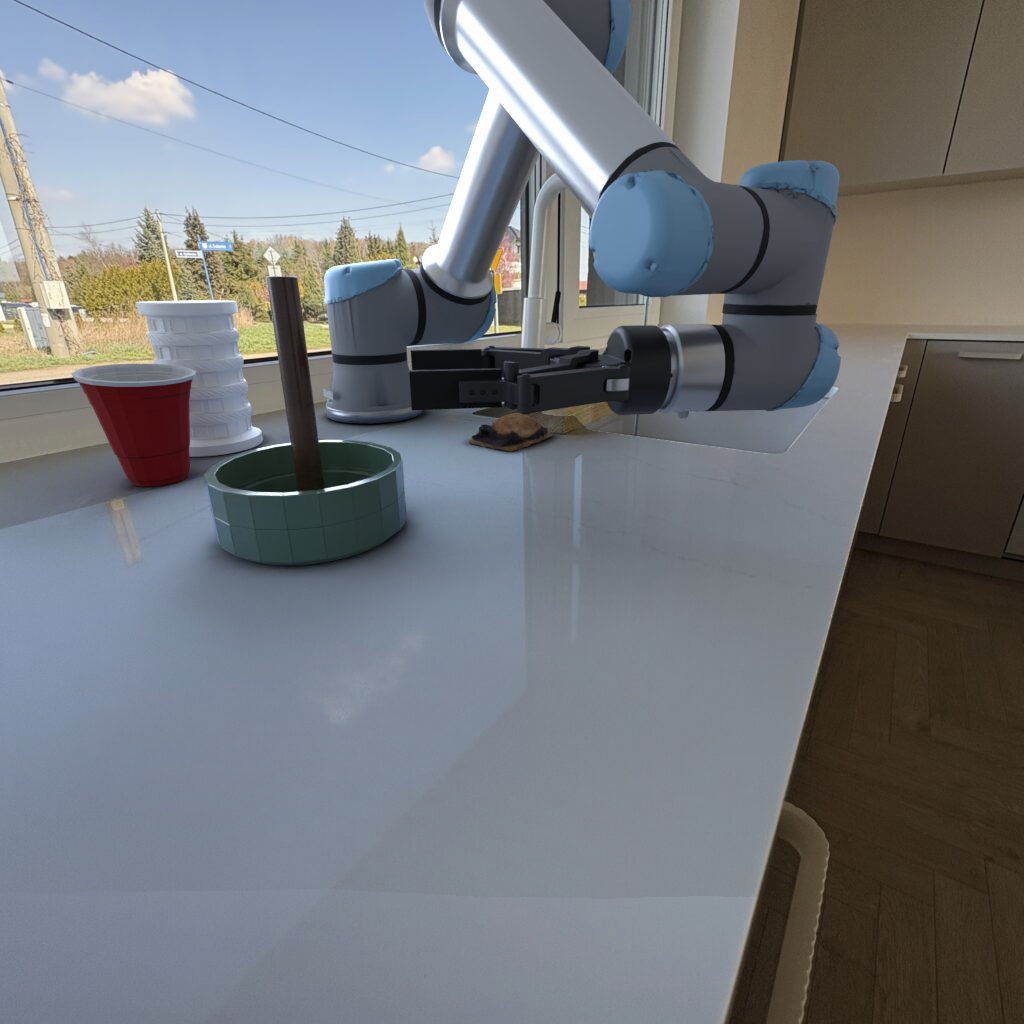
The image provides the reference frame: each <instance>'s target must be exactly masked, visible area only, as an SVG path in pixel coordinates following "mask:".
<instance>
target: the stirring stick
mask: <svg viewBox="0 0 1024 1024" xmlns="http://www.w3.org/2000/svg"><path fill="white" fill-rule="evenodd" d="M265 278H266V280H265V281H266V286H267V293H268V301H269V307H270V313H271V320H272V326H273V327H272V328H273V335H274V340H275V347H276V354H277V359H278V360H277V361H278V367H279V373H280V381H281V387H282V393H283V400H284V407H285V413H286V421H287V427H288V434H289V439H290V440H289V442H290V443H291V448H292V454H293V461H294V468H295V474H296V481H297V488H298V492H299V491H311V490H320V489H325V485H324V478H323V470H322V462H321V455H320V447H319V440H320V439H319V433H318V424H317V417H316V409H315V402H314V393H313V386H312V380H311V379H312V378H311V370H310V364H309V356H308V347H307V339H306V332H305V325H304V324H305V323H304V317H303V309H302V301H301V295H300V294H301V293H300V287H299V286H300V285H299V280H298V277H297V276H292V275H291V276H288V275H286V276H285V275H283V276H280V275H279V276H278V275H277V276H275V275H273V276H270V275H269V276H268V275H267V276H266V277H265Z"/></svg>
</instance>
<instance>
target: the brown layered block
mask: <svg viewBox="0 0 1024 1024" xmlns="http://www.w3.org/2000/svg"><path fill="white" fill-rule="evenodd" d="M551 437H554V431H553V430H551V429H549V428H548V427H545V426H543V425H542V424H541V423H540V421H538V420H537V419H536V418H535V417H532V416H531V415H530V414H527V415H525V414H521V413H518V412H512V413H509V414H504V415H502V416H500V417H497V419H495V420H494V421H492V422H491V425H490V424H486V423H483V424H481V425H480V426H479V427H478V432H477V433H476V434H474V435H472V436H471V438H470V439H468V442H469V444H471V445H477V446H480V447H484V448H486V447H488V448H490V449H492V450H496V449H497V450H501V451H506V452H510V453H511V452H513V451H517V450H518V451H519V450H521V449H524V448H525V447H527V448H528V447H529V446H531V444H537V443H540V442H542V441H543V440H547V439H548V438H551Z"/></svg>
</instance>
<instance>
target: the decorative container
mask: <svg viewBox="0 0 1024 1024" xmlns="http://www.w3.org/2000/svg"><path fill="white" fill-rule="evenodd" d="M135 303H136V308H137V314H138V315H140V316H143V317H145V319H146V324H147V327H148V331H147V336H146V338H147V341H148V342H149V345H151V346H152V349H153V354H154V358H153V364H164V365H176V366H181V367H186V368H190V369H192V370H194V371H196V375H195V377H194V379H193V380H192V383H191V390H190V399H189V412H190V446H189V455H190V457H192V458H193V457H194V458H195V457H196V458H198V457H200V458H201V457H213V456H223V455H230V454H234V453H239V452H244V451H248V450H251V449H254V448H255V447H257V446H259V445H260V444H263V441H264V438H263V431H262V430H261V429H260V428H259V427H256V426H253V421H252V418H251V417H252V415H253V407H252V406H251V403H250V402H249V399H248V394H247V392H248V391H249V385H248V384H249V383H248V381H247V380H246V379H245V376H244V371H243V367H244V361H245V360H244V357H243V355H242V354H241V353H240V349H239V343H238V342H240V332H239V330H238V329H237V328H236V326H235V325H236V324H235V320H234V315H235V314H237V313H238V312H239V307H238V302H237V301H236V300H225V299H224V300H223V299H221V300H219V299H218V300H217V299H216V300H215V299H214V300H211V299H210V300H208V299H207V300H206V299H205V300H203V299H201V300H197V299H196V300H195V299H194V300H193V299H192V300H152V301H151V300H149V301H136V302H135Z"/></svg>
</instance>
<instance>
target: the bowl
mask: <svg viewBox="0 0 1024 1024" xmlns="http://www.w3.org/2000/svg"><path fill="white" fill-rule="evenodd" d="M319 447H320V455H321V462H322V470H323V478H324V485H325V489H320V490H311V491H299V492H298V488H297V481H296V474H295V468H294V461H293V454H292V448H291V442H287V443H279V444H274V445H268V446H263V447H259V448H253V449H248V450H245V451H242V452H241V453H237V454H234V455H231V456H228V457H225V458H224V459H222V460H219V461H218V462H216V463H214V464H213V465H210V467H208V469H207V471H206V472H205V473H204V474H203V481H204V484H205V491H206V495H207V500H208V504H209V509H210V513H211V518H212V522H213V527H214V531H215V536H216V540H217V542H218V544H219V547H220V548H221V549H222V550H223V551H225V552H227V553H229V554H231V555H232V556H234V557H237V558H240V559H244V560H247V561H250V562H253V563H257V564H263V565H272V566H305V565H306V566H307V565H315V564H316V565H317V564H322V563H328V562H334V561H338V560H343V559H346V558H350V557H353V556H357V555H359V554H362V553H365V552H368V551H369V550H372V549H374V548H375V547H378V546H379V545H381V544H383V543H384V542H386V541H387V540H388V539H390V538H391V537H392V536H394V535H395V534H396V533H398V532H399V531H401V530H402V528H403V526H404V524H405V522H406V521H407V520H408V519H407V516H408V515H407V503H406V502H407V501H406V491H405V476H404V464H403V463H404V461H403V458H402V455H401V453H400V452H398V451H397V450H395V449H394V448H392V447H390V446H387V445H383V444H379V443H376V442H370V441H360V440H353V439H352V440H351V439H323V440H321V439H319Z"/></svg>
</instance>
